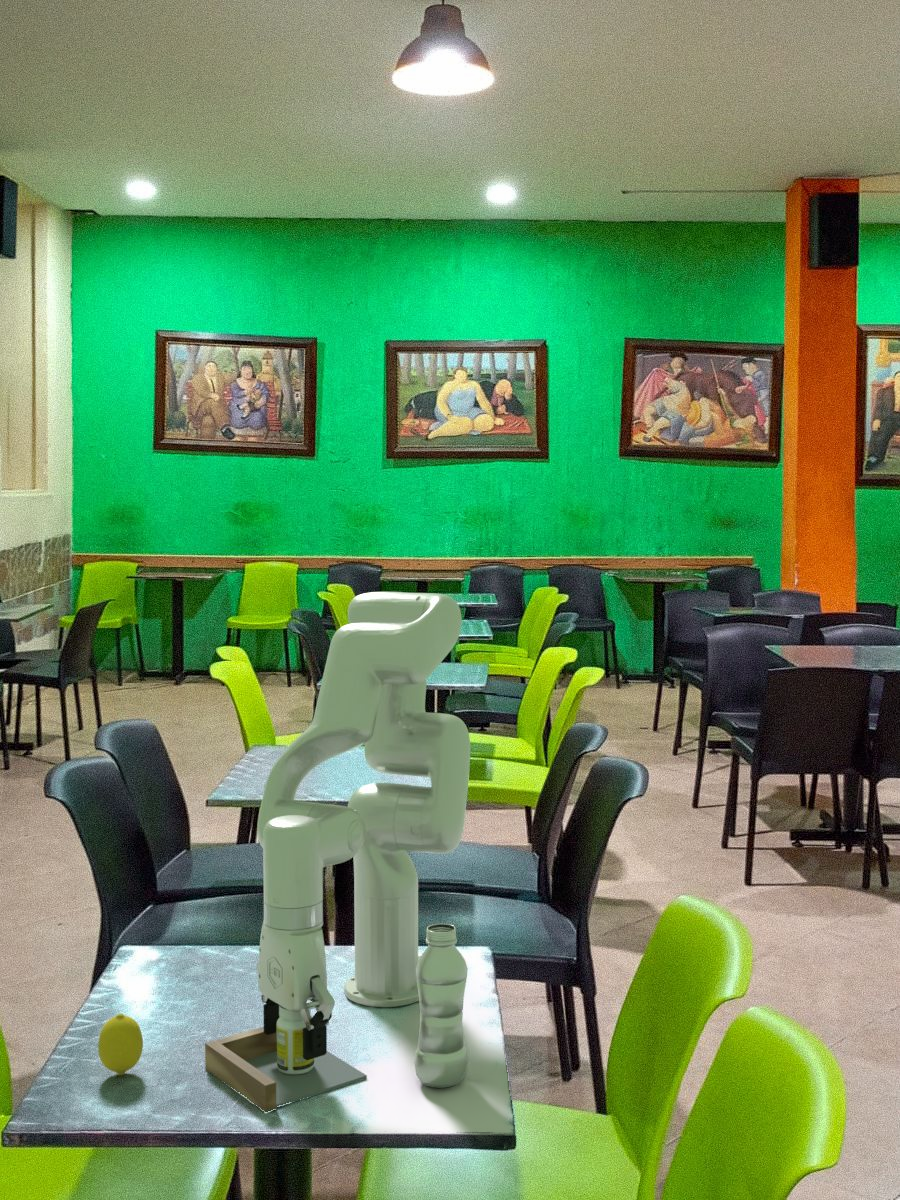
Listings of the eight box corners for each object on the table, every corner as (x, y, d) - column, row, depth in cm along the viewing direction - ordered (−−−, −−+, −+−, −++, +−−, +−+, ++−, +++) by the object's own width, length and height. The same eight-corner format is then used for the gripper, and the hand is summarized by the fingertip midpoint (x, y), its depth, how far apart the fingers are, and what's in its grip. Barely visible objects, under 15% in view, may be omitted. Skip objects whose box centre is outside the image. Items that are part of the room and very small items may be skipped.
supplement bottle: (318, 1061, 169) (318, 998, 168) (307, 1077, 164) (307, 1012, 164) (283, 1058, 170) (283, 996, 169) (271, 1074, 165) (271, 1009, 165)
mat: (310, 1043, 175) (310, 1040, 175) (366, 1078, 165) (366, 1075, 165) (221, 1070, 167) (221, 1067, 167) (274, 1108, 157) (274, 1105, 157)
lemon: (90, 1081, 164) (89, 1020, 163) (113, 1063, 169) (112, 1003, 169) (129, 1086, 163) (128, 1024, 162) (151, 1068, 168) (150, 1008, 167)
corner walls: (307, 1038, 177) (307, 1014, 177) (372, 1078, 165) (372, 1052, 165) (205, 1069, 167) (205, 1043, 167) (265, 1113, 155) (265, 1085, 155)
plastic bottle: (406, 1077, 165) (406, 924, 164) (454, 1067, 168) (454, 917, 167) (426, 1098, 159) (426, 939, 158) (476, 1088, 162) (476, 932, 161)
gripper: (234, 903, 170) (236, 1029, 171) (303, 937, 156) (305, 1075, 157) (284, 892, 174) (285, 1016, 176) (355, 925, 161) (356, 1059, 162)
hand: (294, 1044), depth 166 cm, fingers open, 9 cm apart
